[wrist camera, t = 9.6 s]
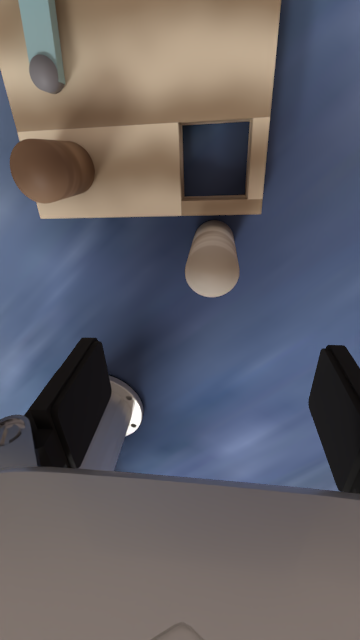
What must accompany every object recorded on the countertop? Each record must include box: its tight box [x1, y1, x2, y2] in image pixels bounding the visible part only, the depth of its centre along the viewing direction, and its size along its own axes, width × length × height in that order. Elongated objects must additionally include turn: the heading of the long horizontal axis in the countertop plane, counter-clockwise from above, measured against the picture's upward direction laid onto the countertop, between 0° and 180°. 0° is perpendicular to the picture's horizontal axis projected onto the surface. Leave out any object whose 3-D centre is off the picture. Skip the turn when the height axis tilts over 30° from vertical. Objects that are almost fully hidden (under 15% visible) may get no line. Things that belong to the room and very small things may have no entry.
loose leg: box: [185, 220, 239, 297], centre depth 25 cm, size 4×4×9 cm
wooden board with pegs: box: [0, 0, 281, 219], centre depth 20 cm, size 20×20×8 cm
